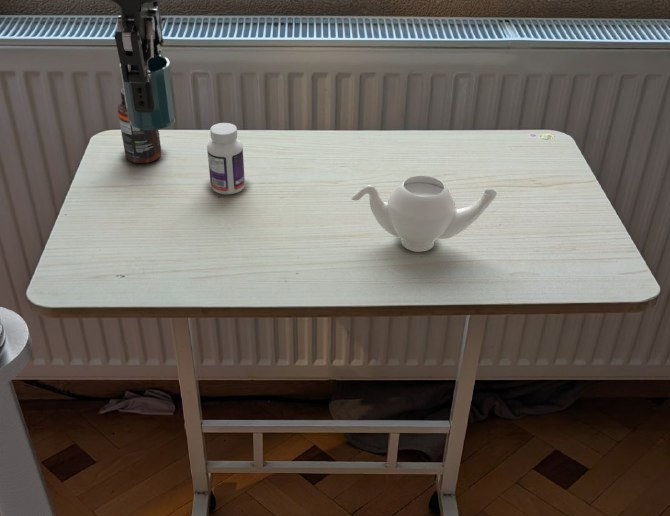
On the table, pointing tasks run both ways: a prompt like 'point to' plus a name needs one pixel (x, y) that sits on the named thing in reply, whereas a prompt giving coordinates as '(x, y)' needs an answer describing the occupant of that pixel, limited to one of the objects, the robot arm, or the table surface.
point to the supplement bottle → (138, 138)
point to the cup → (154, 97)
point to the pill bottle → (225, 159)
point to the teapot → (423, 211)
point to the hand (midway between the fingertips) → (149, 99)
